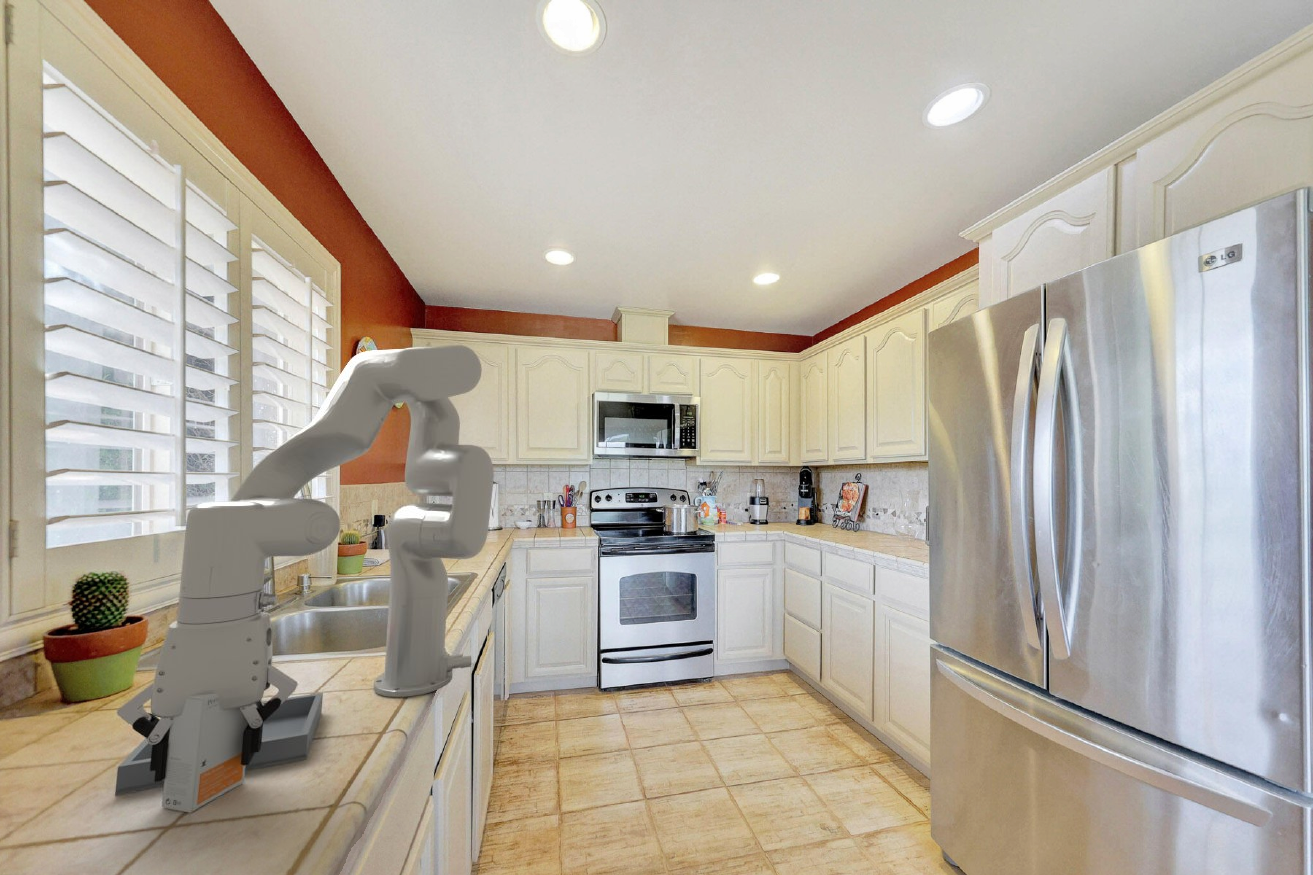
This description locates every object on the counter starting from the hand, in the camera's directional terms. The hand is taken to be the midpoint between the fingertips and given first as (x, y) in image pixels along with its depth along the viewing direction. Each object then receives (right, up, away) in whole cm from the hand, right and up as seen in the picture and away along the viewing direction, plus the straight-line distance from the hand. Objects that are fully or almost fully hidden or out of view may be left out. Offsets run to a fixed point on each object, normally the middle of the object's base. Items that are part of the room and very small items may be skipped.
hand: (207, 765), depth 58 cm
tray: (-5, -4, +10) cm, 11 cm away
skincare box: (0, -3, 0) cm, 3 cm away
